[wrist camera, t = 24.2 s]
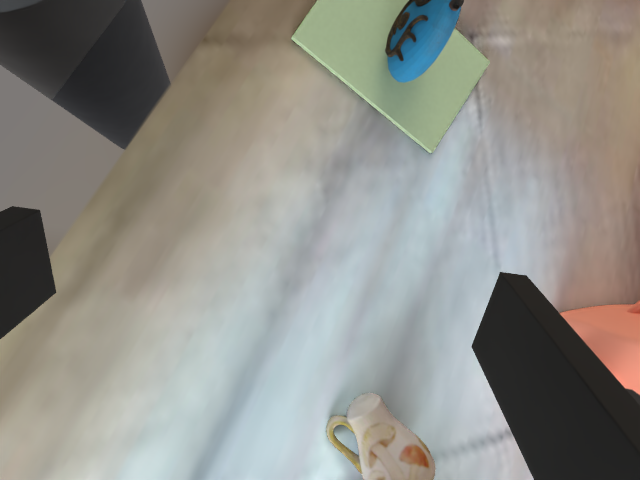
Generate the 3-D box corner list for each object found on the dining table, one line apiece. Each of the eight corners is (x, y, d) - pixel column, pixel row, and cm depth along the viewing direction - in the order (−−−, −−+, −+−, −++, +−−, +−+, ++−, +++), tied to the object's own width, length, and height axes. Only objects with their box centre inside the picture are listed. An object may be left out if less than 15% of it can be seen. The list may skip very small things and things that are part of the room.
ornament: (393, 2, 38) (452, -70, 28) (431, 24, 39) (501, -37, 30) (365, 80, 38) (415, 34, 28) (405, 100, 39) (466, 63, 29)
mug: (374, 365, 41) (453, 434, 34) (378, 418, 46) (447, 487, 39) (318, 407, 38) (392, 494, 30) (329, 459, 43) (395, 543, 36)
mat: (291, 39, 36) (292, 36, 36) (358, -59, 37) (360, -63, 37) (429, 153, 41) (432, 152, 40) (486, 63, 42) (490, 61, 41)
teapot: (642, 264, 50) (799, 282, 36) (635, 428, 51) (783, 504, 38) (512, 272, 44) (640, 298, 31) (509, 455, 46) (629, 553, 33)
